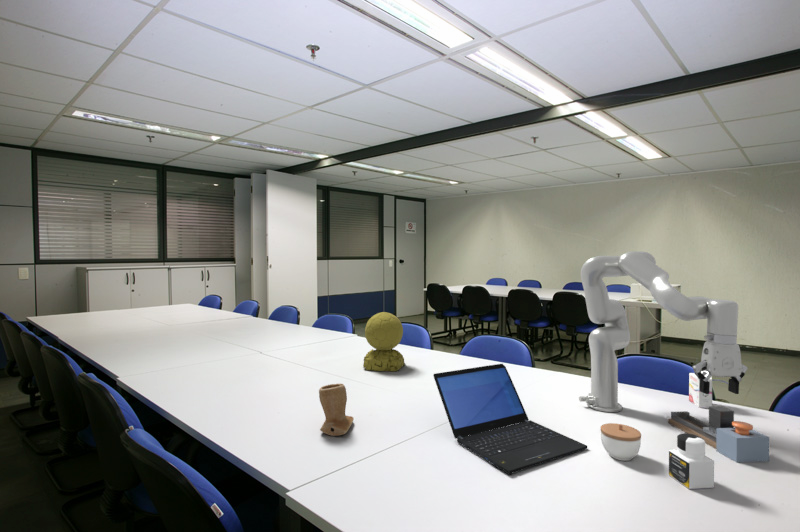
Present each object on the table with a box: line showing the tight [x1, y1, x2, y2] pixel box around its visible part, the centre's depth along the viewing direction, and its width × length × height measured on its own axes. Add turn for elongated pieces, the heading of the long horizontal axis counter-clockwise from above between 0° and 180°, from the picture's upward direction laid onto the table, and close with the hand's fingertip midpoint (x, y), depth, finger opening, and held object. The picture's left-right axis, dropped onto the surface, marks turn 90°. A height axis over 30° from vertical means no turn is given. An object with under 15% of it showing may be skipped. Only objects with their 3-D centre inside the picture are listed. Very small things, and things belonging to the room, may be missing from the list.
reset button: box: [732, 420, 754, 436], centre depth 123 cm, size 5×5×4 cm
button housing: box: [715, 427, 770, 463], centre depth 123 cm, size 10×7×7 cm
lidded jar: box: [600, 422, 642, 462], centre depth 123 cm, size 11×11×9 cm
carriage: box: [703, 405, 735, 438], centre depth 130 cm, size 7×6×10 cm
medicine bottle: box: [668, 432, 715, 490], centre depth 108 cm, size 7×7×12 cm
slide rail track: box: [667, 410, 716, 450], centre depth 137 cm, size 8×22×4 cm, turn 3°
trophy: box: [362, 311, 405, 372], centre depth 227 cm, size 22×22×30 cm
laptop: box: [432, 363, 588, 475], centre depth 135 cm, size 33×38×19 cm
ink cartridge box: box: [688, 370, 713, 409], centre depth 166 cm, size 9×5×15 cm, turn 168°
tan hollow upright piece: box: [318, 383, 354, 437], centre depth 144 cm, size 15×12×15 cm
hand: (718, 392), depth 130 cm, fingers open, 9 cm apart
